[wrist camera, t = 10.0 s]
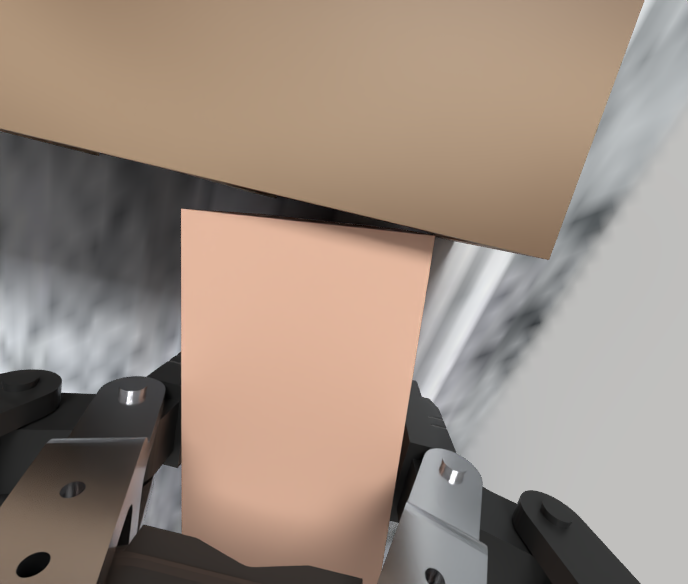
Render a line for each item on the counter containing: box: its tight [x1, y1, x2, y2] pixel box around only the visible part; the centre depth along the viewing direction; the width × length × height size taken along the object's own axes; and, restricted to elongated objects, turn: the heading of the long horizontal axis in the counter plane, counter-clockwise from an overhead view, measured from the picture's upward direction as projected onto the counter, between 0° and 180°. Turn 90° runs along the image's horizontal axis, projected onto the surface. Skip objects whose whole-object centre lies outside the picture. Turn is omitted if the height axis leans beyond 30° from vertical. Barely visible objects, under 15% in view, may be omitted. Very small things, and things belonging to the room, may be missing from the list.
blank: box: [181, 209, 435, 584], centre depth 10 cm, size 10×5×5 cm, turn 174°
